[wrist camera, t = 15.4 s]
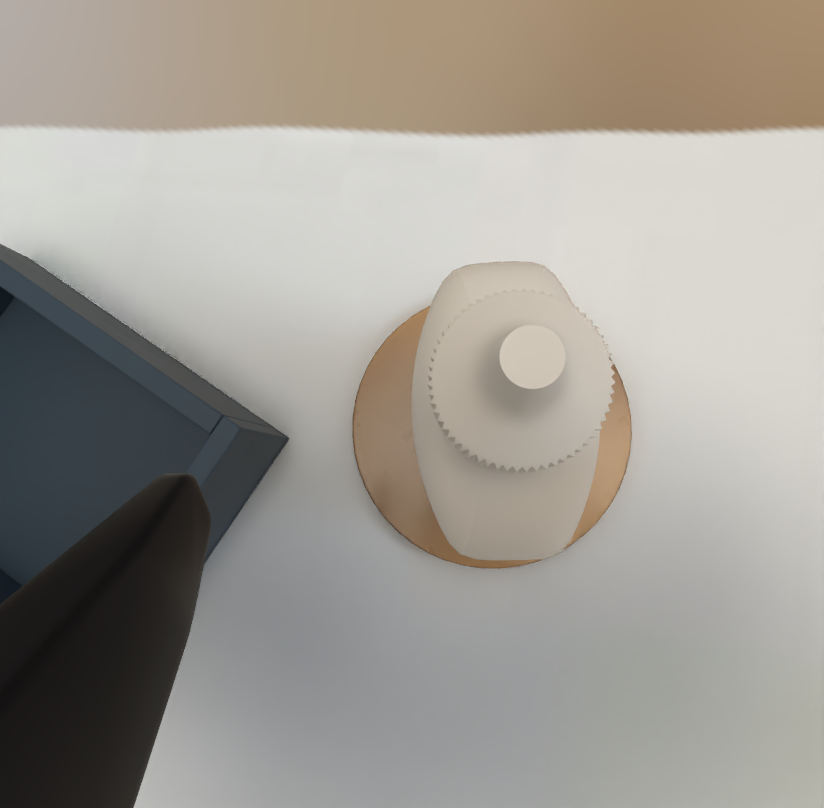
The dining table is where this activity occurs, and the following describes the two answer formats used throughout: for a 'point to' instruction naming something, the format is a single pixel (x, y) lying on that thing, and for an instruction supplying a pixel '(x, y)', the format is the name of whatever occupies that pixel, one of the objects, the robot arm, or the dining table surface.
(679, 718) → the dining table surface
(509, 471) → the eye dropper bottle
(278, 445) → the tub
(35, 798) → the robot arm
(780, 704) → the dining table surface
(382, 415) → the coaster
